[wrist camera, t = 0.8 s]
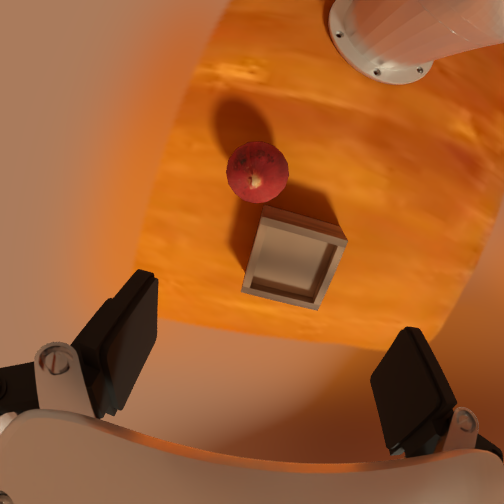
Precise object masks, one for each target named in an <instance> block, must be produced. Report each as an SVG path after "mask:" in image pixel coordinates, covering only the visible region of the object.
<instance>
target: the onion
mask: <svg viewBox="0 0 504 504" xmlns="http://www.w3.org/2000/svg"><path fill="white" fill-rule="evenodd" d="M226 174H227V179H228V184H229V185H230V187H231V188H232V190H233V191H234V193H235V194H236V195H238V196H239V197H240V198H241V199H242V200H244V201H248V202H252V203H262V202H267V201H269V200H271V199H273V198H275V197H277V195H278V194H279V193H280V192H281V191H282V190H283V189H284V188H285V185H286V182H287V179H288V177H289V171H288V163H287V161H286V159H285V158H284V156H283V154H282V153H281V152H280V151H279V150H278V149H277V148H276V147H275V146H273V145H270V144H267V143H265V142H248V143H246V144H244V145H242V146H240V147H239V148H237V149H236V150H235V151H234V153H233V154H232V156H231V157H230V158H229V160H228V165H227V170H226Z"/></svg>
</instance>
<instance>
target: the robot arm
mask: <svg viewBox="0 0 504 504" xmlns="http://www.w3.org/2000/svg"><path fill="white" fill-rule="evenodd" d="M328 27H329V32H330V36H331V38H332V41H333V43H334V45H335V47H336V48H337V50H338V51H339V53H340V54H341V56H342V57H343V58H344V59H345V60H346V61H347V62H348V63H349V64H350V65H351V66H352V67H353V68H355V69H356V70H357V71H359V72H360V73H362V74H363V75H365V76H367V77H369V78H371V79H373V80H375V81H378V82H382V83H385V84H393V85H401V84H407V83H412V82H414V81H417V80H419V79H421V78H422V77H423V76H425V75H426V74H427V72H428V71H429V70H430V68H431V66H432V64H433V61H434V60H436V59H439V58H443V57H446V56H450V55H453V54H457V53H460V52H464V51H468V50H472V49H476V48H480V47H485V46H489V45H495V44H499V43H504V0H336V1H335V2H334V3H333V5H332V7H331V9H330V13H329V17H328ZM336 35H339V36H340V38H338V37H337V36H336ZM417 70H418V71H417ZM374 71H375V72H376V73H377V75H375V74H374ZM157 305H158V279H157V278H154V274H153V273H151V272H148V271H144V270H140V269H138V270H137V271H136V272H135V273H134V274H133V275H132V276H131V278H130V279H129V280H128V281H127V282H126V283H125V285H124V286H123V287H122V288H121V290H120V291H119V292H118V293H117V294H116V295H115V297H114V298H113V299H112V298H109V299H108V300H106V301H105V302H104V304H103V305H102V306H101V307H100V308H99V310H98V311H97V312H96V313H95V315H94V316H93V317H92V318H91V320H90V321H89V322H88V323H87V324H86V326H85V327H84V328H83V330H82V331H81V332H80V333H79V335H78V336H77V337H76V338H75V340H74V341H73V342H72V344H71V345H68V344H67V343H63V342H51V343H48V344H46V345H44V346H42V347H41V348H40V349H39V350H38V351H37V353H36V355H35V360H34V362H30V363H25V364H20V365H15V366H9V367H3V368H0V504H504V464H503V455H502V451H501V450H500V449H499V448H498V447H496V446H495V445H494V444H492V443H491V442H489V441H488V440H486V439H485V438H484V437H482V436H481V435H479V434H478V420H477V418H476V416H475V415H474V414H473V412H471V411H470V410H469V409H467V408H464V407H460V408H457V409H456V410H455V411H454V412H453V409H452V408H453V407H454V406H455V405H456V404H457V401H456V399H455V396H454V394H453V392H452V390H451V388H450V386H449V383H448V381H447V379H446V377H445V375H444V373H443V371H442V369H441V367H440V365H439V363H438V361H437V360H436V357H435V356H434V354H433V352H432V350H431V348H430V346H429V344H428V342H427V341H426V339H425V337H424V335H423V333H422V332H421V330H420V329H419V328H415V327H405V328H404V329H403V330H401V331H400V332H399V334H398V335H397V337H396V339H395V340H394V342H393V343H392V345H391V347H390V348H389V350H388V351H387V353H386V354H385V356H384V357H383V359H382V360H381V362H380V363H379V365H378V366H377V368H376V369H375V371H374V372H373V374H372V375H371V379H370V383H371V387H372V390H373V394H374V398H375V401H376V405H377V409H378V413H379V417H380V421H381V426H382V430H383V434H384V439H385V443H386V447H387V448H388V449H389V451H390V455H399V454H402V453H403V452H405V457H404V459H397V460H389V461H378V462H366V463H346V464H309V463H290V462H277V461H267V460H258V459H251V458H243V457H237V456H231V455H225V454H220V453H214V452H210V451H205V450H200V449H196V448H192V447H188V446H184V445H180V444H176V443H172V442H169V441H165V440H161V439H158V438H155V437H151V436H148V435H145V434H141V433H139V432H136V431H133V430H130V429H127V428H124V427H120V426H118V425H114V424H112V423H109V422H106V421H103V420H100V419H101V418H103V417H104V415H105V413H107V414H110V415H112V416H115V414H116V412H117V410H122V409H123V408H124V406H125V403H126V401H127V399H128V397H129V395H130V393H131V390H132V389H133V386H134V384H135V382H136V380H137V378H138V376H139V374H140V372H141V370H142V368H143V366H144V364H145V362H146V360H147V358H148V355H149V354H150V351H151V349H152V347H153V345H154V344H155V341H156V338H157Z"/></svg>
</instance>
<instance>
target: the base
mask: <svg viewBox="0 0 504 504" xmlns="http://www.w3.org/2000/svg"><path fill="white" fill-rule="evenodd" d="M347 242H348V240H347V238H346V236H345V235H344V233H343V231H342V229H341V227H340V226H337V225H334V224H330V223H327V222H324V221H320V220H317V219H314V218H310V217H307V216H303V215H300V214H296V213H293V212H289V211H286V210H282V209H278V208H275V207H271V206H267V205H264V206H263V210H262V214H261V217H260V221H259V225H258V228H257V232H256V235H255V239H254V243H253V246H252V250H251V253H250V257H249V261H248V264H247V268H246V272H245V276H244V280H243V285H242V289H241V292H243V293H247V294H251V295H255V296H259V297H263V298H267V299H271V300H275V301H279V302H283V303H287V304H291V305H295V306H300V307H304V308H308V309H313V310H317V311H318V309H319V306H320V304H321V302H322V300H323V298H324V296H325V293H326V291H327V289H328V287H329V285H330V282H331V280H332V278H333V276H334V273H335V271H336V269H337V266H338V264H339V262H340V259H341V257H342V254H343V252H344V250H345V247H346V245H347Z"/></svg>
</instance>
